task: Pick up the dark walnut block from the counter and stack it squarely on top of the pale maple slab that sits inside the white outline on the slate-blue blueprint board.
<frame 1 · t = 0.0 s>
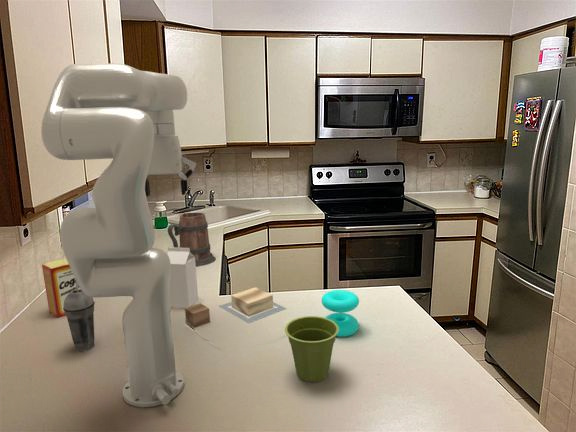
hand: (165, 194, 115), 37 cm above the worktop, tool pointing down, fingers open, 9 cm apart
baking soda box: (69, 310, 132), on the worktop
maple slab: (252, 307, 129), point 1 cm above the worktop, touching blueprint board
donuts: (340, 330, 115), on the worktop
tankard: (189, 263, 176), on the worktop
milk carton: (183, 305, 134), on the worktop
beverage cup: (85, 347, 110), on the worktop
walnut block: (198, 324, 120), on the worktop
plant pot: (312, 374, 95), on the worktop
blueprint board: (252, 309, 129), on the worktop
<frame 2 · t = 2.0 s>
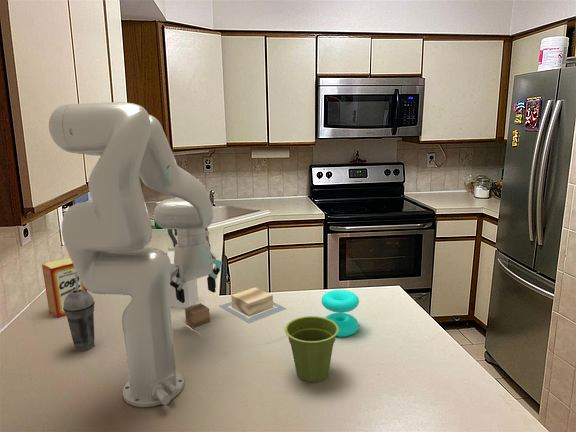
hand: (197, 296, 120), 8 cm above the worktop, tool pointing down, fingers open, 9 cm apart
nothing on the worktop moved.
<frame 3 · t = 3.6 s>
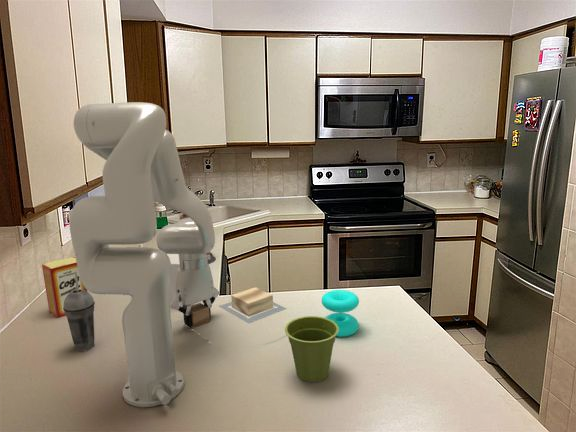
hand: (198, 322, 120), 0 cm above the worktop, tool pointing down, fingers closed on walnut block, 5 cm apart
walnut block: (198, 324, 120), on the worktop, touching gripper
everything else where it was.
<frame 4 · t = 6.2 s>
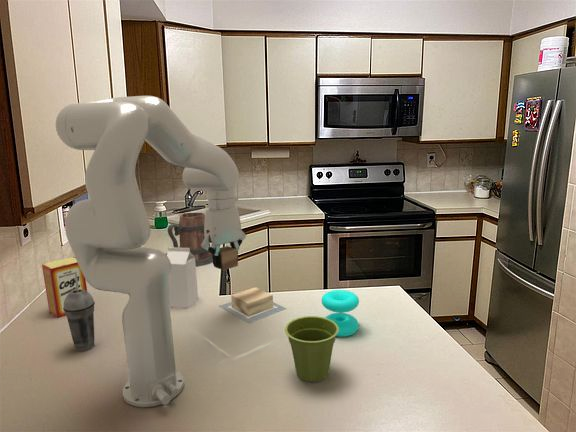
hand: (226, 264, 122), 16 cm above the worktop, tool pointing down, fingers closed on walnut block, 5 cm apart
walnut block: (225, 266, 122), point 15 cm above the worktop, touching gripper
everything else where it was.
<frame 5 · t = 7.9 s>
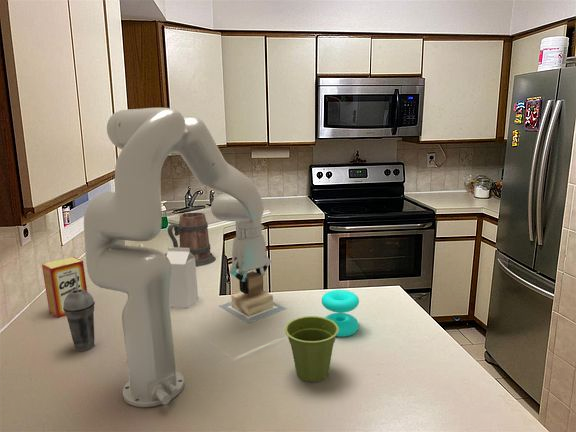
hand: (251, 289, 128), 7 cm above the worktop, tool pointing down, fingers closed on walnut block, 5 cm apart
walnut block: (251, 290, 128), point 6 cm above the worktop, touching gripper
everything else where it was.
when the fingers open (5 cm above the worktop, at t = 8.9 s): walnut block stays where it is, resting on maple slab.
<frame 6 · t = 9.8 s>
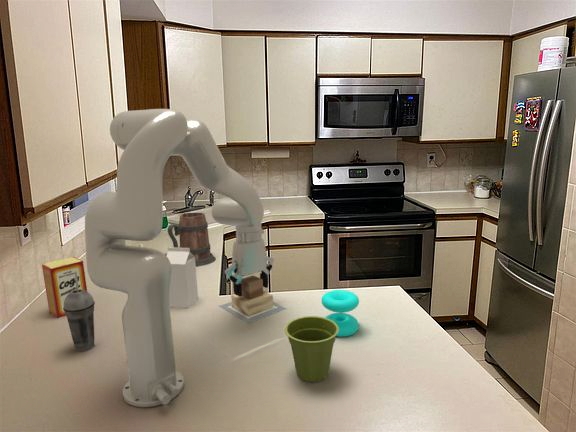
hand: (251, 290, 128), 6 cm above the worktop, tool pointing down, fingers open, 9 cm apart
maple slab: (252, 307, 129), point 1 cm above the worktop, touching blueprint board, walnut block
walnut block: (251, 294, 128), point 5 cm above the worktop, touching maple slab
everything else where it was.
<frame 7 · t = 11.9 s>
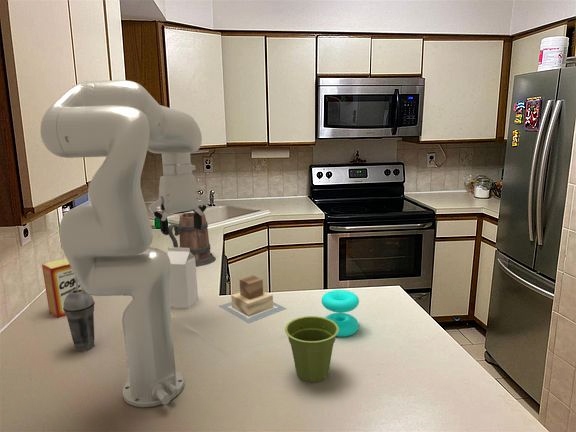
hand: (182, 231, 119), 26 cm above the worktop, tool pointing down, fingers open, 9 cm apart
nothing on the worktop moved.
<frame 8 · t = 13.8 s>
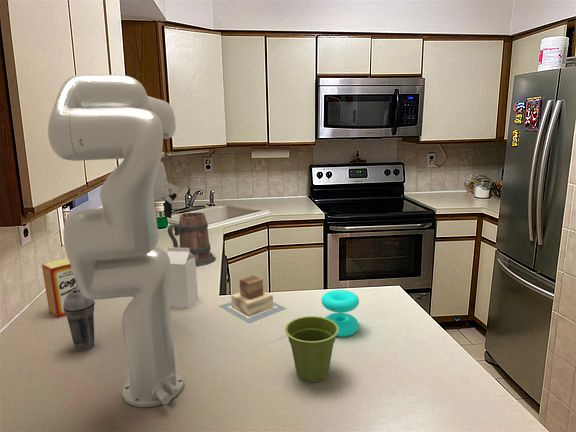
hand: (151, 220, 116), 30 cm above the worktop, tool pointing down, fingers open, 9 cm apart
nothing on the worktop moved.
at the end: walnut block 0.1 cm off-centre on the maple slab, point 4.0 cm above the maple slab's base; walnut block tilted 0°; maple slab moved 0.0 cm from its start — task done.
